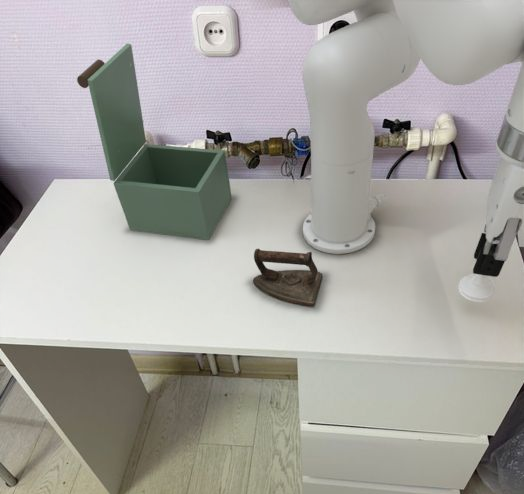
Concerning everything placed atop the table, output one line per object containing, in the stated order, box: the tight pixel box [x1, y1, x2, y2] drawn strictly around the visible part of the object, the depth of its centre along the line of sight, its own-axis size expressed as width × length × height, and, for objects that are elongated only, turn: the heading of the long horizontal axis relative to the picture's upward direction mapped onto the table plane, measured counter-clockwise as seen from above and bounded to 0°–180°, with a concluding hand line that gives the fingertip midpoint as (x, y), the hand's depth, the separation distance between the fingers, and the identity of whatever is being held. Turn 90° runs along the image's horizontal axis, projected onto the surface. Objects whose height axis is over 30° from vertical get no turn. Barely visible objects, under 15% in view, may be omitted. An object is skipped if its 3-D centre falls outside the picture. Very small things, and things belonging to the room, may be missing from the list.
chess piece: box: [457, 240, 499, 303], centre depth 66 cm, size 5×5×10 cm
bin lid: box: [76, 43, 147, 182], centre depth 82 cm, size 17×13×5 cm
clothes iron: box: [252, 248, 323, 308], centre depth 77 cm, size 7×11×10 cm, turn 76°
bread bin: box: [113, 143, 233, 241], centre depth 91 cm, size 16×13×10 cm
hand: (485, 265), depth 66 cm, fingers closed on chess piece
